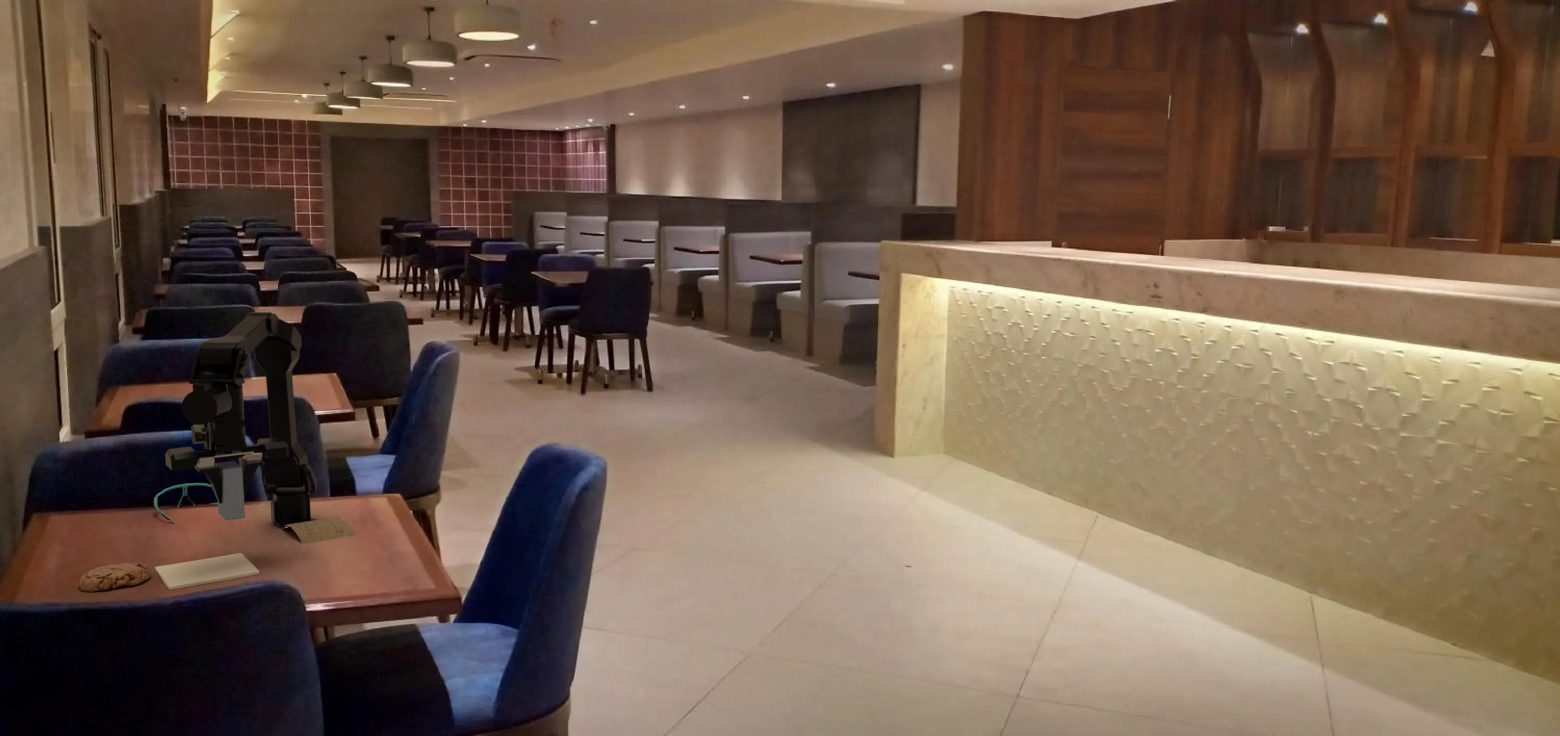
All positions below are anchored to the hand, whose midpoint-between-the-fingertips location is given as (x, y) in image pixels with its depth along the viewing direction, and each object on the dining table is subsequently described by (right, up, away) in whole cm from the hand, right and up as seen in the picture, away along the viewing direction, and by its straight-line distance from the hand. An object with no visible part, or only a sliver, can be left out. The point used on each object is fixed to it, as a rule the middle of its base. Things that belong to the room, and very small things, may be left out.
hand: (231, 501), depth 200 cm
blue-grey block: (0, -3, 0) cm, 3 cm away
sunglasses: (-25, -7, +37) cm, 45 cm away
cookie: (-16, -13, -7) cm, 22 cm away
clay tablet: (+6, -10, +24) cm, 26 cm away
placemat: (-4, -12, -1) cm, 13 cm away
